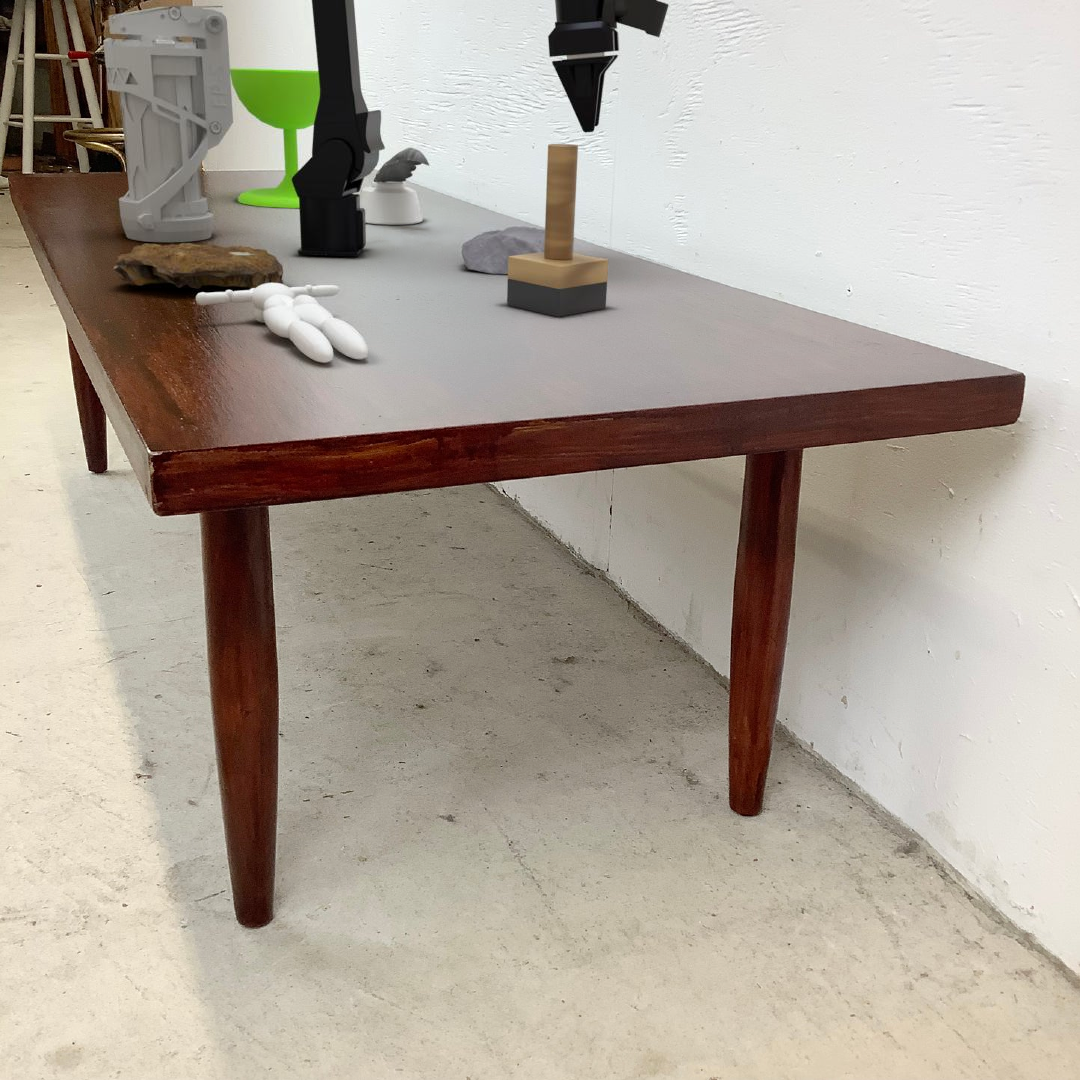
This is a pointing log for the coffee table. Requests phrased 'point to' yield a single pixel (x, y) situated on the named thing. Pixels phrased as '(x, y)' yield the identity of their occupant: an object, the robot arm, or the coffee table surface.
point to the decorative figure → (297, 318)
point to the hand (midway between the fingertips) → (591, 129)
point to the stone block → (501, 248)
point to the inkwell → (393, 191)
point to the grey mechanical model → (169, 115)
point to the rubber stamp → (558, 252)
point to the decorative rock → (199, 266)
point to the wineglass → (279, 120)
